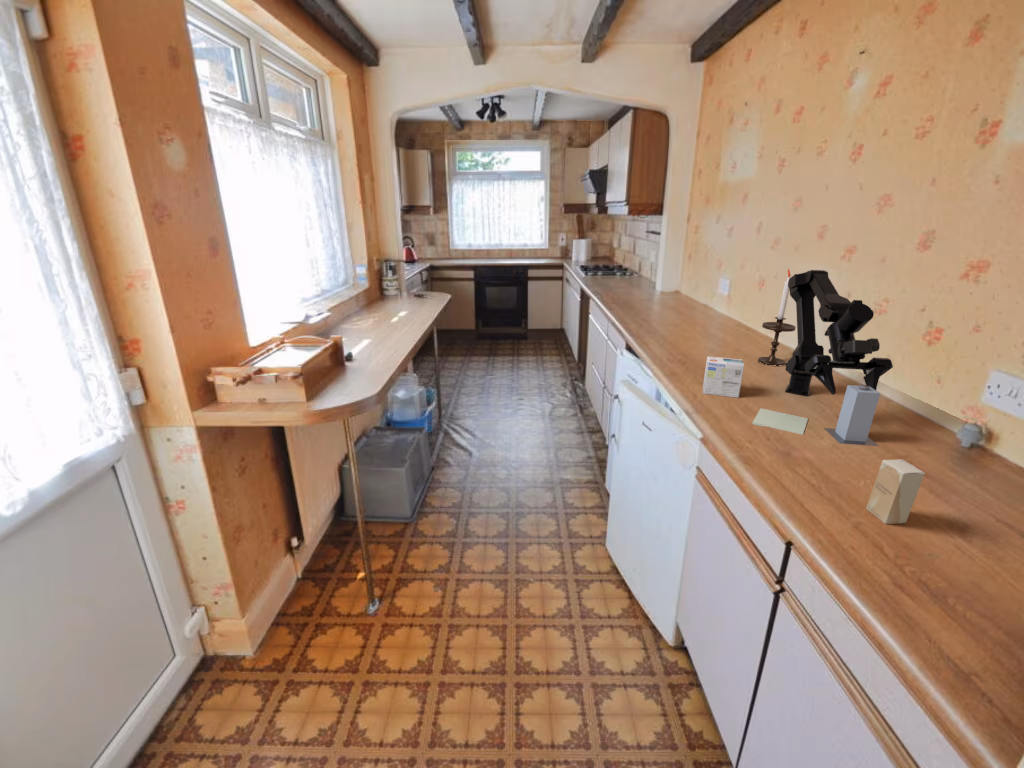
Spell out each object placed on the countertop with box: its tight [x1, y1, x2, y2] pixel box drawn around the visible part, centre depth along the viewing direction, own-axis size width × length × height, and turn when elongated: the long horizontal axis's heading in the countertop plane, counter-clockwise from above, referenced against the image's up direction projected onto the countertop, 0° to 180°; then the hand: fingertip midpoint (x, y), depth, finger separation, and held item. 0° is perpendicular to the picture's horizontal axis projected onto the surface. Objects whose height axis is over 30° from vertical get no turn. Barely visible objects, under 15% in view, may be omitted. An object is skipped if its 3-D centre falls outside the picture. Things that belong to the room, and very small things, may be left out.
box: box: [865, 458, 926, 525], centre depth 91 cm, size 5×4×11 cm
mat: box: [751, 407, 809, 436], centre depth 132 cm, size 12×12×1 cm
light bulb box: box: [702, 355, 745, 398], centre depth 152 cm, size 11×7×11 cm, turn 71°
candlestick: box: [757, 268, 797, 367], centre depth 178 cm, size 11×11×35 cm
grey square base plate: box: [823, 427, 880, 447], centre depth 123 cm, size 9×9×3 cm
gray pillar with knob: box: [835, 384, 881, 442], centre depth 121 cm, size 5×5×14 cm
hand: (853, 395), depth 124 cm, fingers open, 9 cm apart
